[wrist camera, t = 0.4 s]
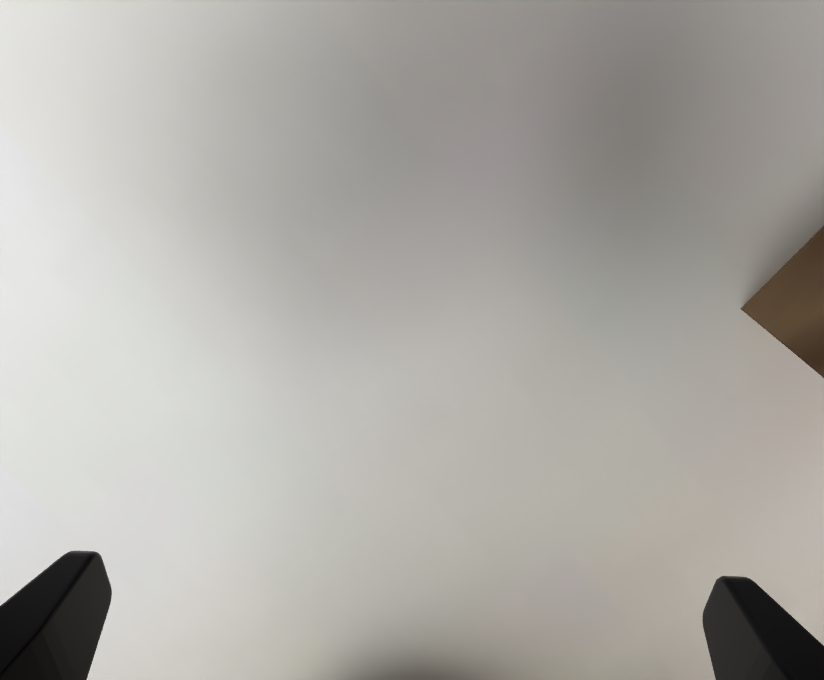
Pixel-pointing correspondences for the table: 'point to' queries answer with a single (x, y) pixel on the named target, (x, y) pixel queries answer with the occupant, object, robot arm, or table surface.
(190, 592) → the table surface
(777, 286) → the walnut block
